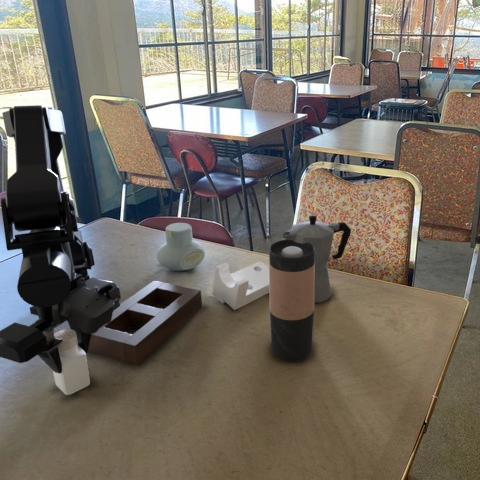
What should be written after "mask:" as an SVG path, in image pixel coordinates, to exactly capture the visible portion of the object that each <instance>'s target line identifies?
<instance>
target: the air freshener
mask: <svg viewBox="0 0 480 480" xmlns="http://www.w3.org/2000/svg"><path fill="white" fill-rule="evenodd" d="M164 230H165V239H166V242H164V243H163V244H162V245H161V246H160V247H159V248H158V250H157V252H156V260H157V262H158V263H159V265H160V266H162V267H163V268H165V269H167V270H170V271H176V272H177V271H178V272H183V271H189V270H193V268H195V267H197V266H198V265H200V264H201V263H202V261H203V260H204V258H205V255H206V254H205V253H206V252H205V248H204V246H203V245H202V244H201V243H200V242H198V241H196V240H194V239H193V229H192V225H191V224H189V223H186V222H175V223H170V224H168V225H167V226H166V227H165V229H164Z"/></svg>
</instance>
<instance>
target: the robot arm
mask: <svg viewBox="0 0 480 480" xmlns="http://www.w3.org/2000/svg"><path fill="white" fill-rule="evenodd" d="M2 118H3V124H4V129H5V134H6V136H7V137H9V138H13V141H14V147H15V149H14V151H15V172H14V173H13V174H12V175H11V176H10V177H9V178H8V179H6V181H5V197H1V198H0V208H1V215H2V223H3V232H4V239H5V246H6V247H5V248H6V250H7V251H15V250H21V253H22V259H21V264H20V265H21V266H20V270H19V275H18V279H17V286H16V289H17V290H16V291H17V294H18V295H19V297H20V298H21V299H22V300H23V302H25V303H27V304H28V305H30V307H29V311H30V312H29V313H30V314H31V315H33V316H37V317H38V319H36V320H35V321H34V322H33V323H32V324H30V325H26V324H22V323H19V322H13V323H11V324H10V325H8V326H6V327H4V328H2V329H1V330H0V358H2V359H5V360H8V361H11V362H15V363H19V364H23V363H27V362H29V361H31V360H32V359H33V358H35V357H37V356H38V357H39V358H40V360H42V361H43V362H44V363H45V364H46V365H47V366H48V367H49V368H50V369H51V370H52V372H53V371H54V372H56V373H59V374H60V373H61V372H62V363H61V359H60V354H59V350H58V346H59V345H60V343H61V342H62V341H63V340H61V339H58V338H55V337H54V334H55V332H54V331H55V330H54V329H56V328H57V327H59V326H60V325H62V324H64V323H66V322H67V324H68V326H69V329H72V330H75V332H76V335H77V341H78V346H79V347H80V348H82V349H83V350H84V352H85V353H86V355H87V354H88V353H89V352H88V348H89V343H90V339H91V334H93V333H95V332H97V331H98V329H100V328H101V327H102V326H104V325H105V324H106V323H109V322H110V321H111V319H112V314H113V311H114V310H115V309H117V308H118V307H120V304H121V303H120V299H122V296H121V291H120V287H119V286H118V284H117V283H116V282H115V281H110V280H106V279H100V278H96V277H90V275H89V272H88V270H92V267H94V266H95V264H96V263H95V258H94V253H93V249H92V246H90V245H89V244H88V241H86V240H85V241H84V239H83V235H82V230H80V229H79V226H78V221H77V213H76V207H75V201H74V198H72V197H71V196H70V193H68V191H67V190H66V191H65V190H64V185H63V180H62V175H61V171H60V166H59V162H58V160H59V159H58V158H59V156H60V155H61V153H62V151H63V149H64V139H63V135H67V134H66V133H67V132H66V127H65V126H66V125H65V121H64V116H63V113H62V111H61V110H58V109H54V107H53V106H52V107H51V106H50V107H48V106H43V105H40V104H39V105H38V104H36V105H13V107H10V108H8V110H7V111H6V110H5V111H3V112H2ZM14 230H15V231H17V232H25V233H20V234H14ZM28 231H29V232H28ZM26 232H27V233H26Z"/></svg>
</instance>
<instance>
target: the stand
mask: <svg viewBox="0 0 480 480" xmlns="http://www.w3.org/2000/svg"><path fill="white" fill-rule="evenodd" d="M202 299H203V298H202V290H201V289H195V288H191V287H187V286H183V285H182V286H181V285H176V284H172V283H167V282H162V281H158V280H153V281H151V282H150V283H148V284H147V285H146V286H144V287H142V288H141V289H140V290H138V291H137V292H136V293H134V294H133V295H131V296H130V297H128V298H127V299H125V300H124V301H122V302H121V303H120V307H118V308H117V309H115V310H114V311H113V314H112V319H111V321H110V322H109V323H106V324H105V325H104V326H102V327H101V328H100V329H98V331H97V332H95V333H93V334H91V339H90V343H89V348H88V353H92V354H96V355H98V356H102V357H106V358H110V359H113V360H117V361H121V362H123V363H127V364H131V365H135V366H140V364H142V363H143V362H144V361H145V360H146V359H147V358H148V357H150V356H151V355H152V354H153V352H155V351H156V350H157V349H158V348H160V346H161V345H163V344H164V343H165V342H166V341H167V340H168V339H169V338H170V337H171V336H172V335H174V334H175V333H176V332H177V331H178V330H179V329H180V328H181V327H182V326H183V325H185V324H186V323H187V322H188V321H189V320H190V319H191V318H192V317H193V316H195V315H196V314H197V313H198V312H199V311H201V309H202V308H203V301H202ZM158 306H162V307H165V308H164V309H163V308H159V307H158ZM131 328H132V329H135V330H136V331H135V332H134V333H133V334H132V333H128V332H127V331H128V330H129V329H131Z"/></svg>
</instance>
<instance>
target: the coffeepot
mask: <svg viewBox="0 0 480 480" xmlns="http://www.w3.org/2000/svg"><path fill="white" fill-rule="evenodd" d="M317 218H318V217H317V215H315V214H314V215H312V214H311V215H309V216H308V219H309V221H301V222H299V223H296V224H293V225H291V228H290V229H287V230H284V232H282V234H281V238H282V239H283V238H284V240H287V239H291V240H294V241H295V242H297V243H305V242H309V243H311V244H312V245H313V246H314V248H315V287H314V304H318V303H322V302H325V301H327V300H328V299H329V298H331V297H332V290H331V279H330V273H329V265H328V262H329V260H330V255H331V249H332V244H333V241H334V234H336V233H339V232H343V233H342V234H341V238H340V242H339V244H338V247H337V252H336V253H335V254H332V255H331V258H332V259H333V260H338V259H341V258H342V257H343V255H344V252H345V249H346V246H347V244H348V241H349V238H350V236H351V234H352V228H351V227H350V226H349V225H348V224H347V223H346V222H344V221H342V222H331V223H329V224H328V223H325V222H323V221H317Z"/></svg>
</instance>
